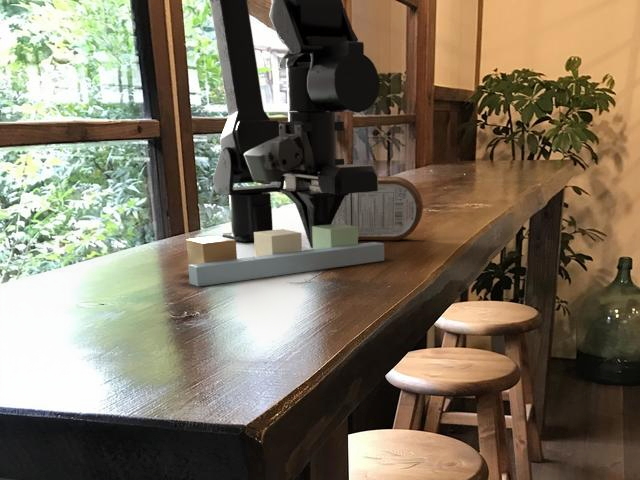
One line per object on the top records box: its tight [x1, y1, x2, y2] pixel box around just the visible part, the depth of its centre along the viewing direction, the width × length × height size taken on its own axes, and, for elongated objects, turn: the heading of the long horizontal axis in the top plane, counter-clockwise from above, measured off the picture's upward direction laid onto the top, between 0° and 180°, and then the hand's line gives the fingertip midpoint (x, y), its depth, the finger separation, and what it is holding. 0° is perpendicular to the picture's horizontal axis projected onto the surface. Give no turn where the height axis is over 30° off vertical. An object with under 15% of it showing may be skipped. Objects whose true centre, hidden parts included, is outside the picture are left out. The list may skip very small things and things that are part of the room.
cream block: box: [253, 228, 303, 257], centre depth 94 cm, size 4×4×4 cm
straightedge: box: [187, 241, 385, 288], centre depth 92 cm, size 2×25×2 cm, turn 127°
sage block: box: [312, 224, 359, 250], centre depth 98 cm, size 4×4×4 cm
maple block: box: [185, 235, 238, 265], centre depth 89 cm, size 4×4×4 cm
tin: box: [331, 175, 424, 242], centre depth 112 cm, size 15×3×8 cm, turn 84°
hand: (315, 248), depth 102 cm, fingers closed
